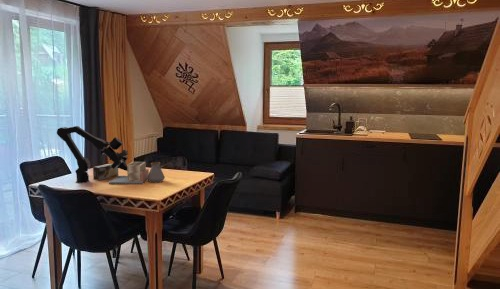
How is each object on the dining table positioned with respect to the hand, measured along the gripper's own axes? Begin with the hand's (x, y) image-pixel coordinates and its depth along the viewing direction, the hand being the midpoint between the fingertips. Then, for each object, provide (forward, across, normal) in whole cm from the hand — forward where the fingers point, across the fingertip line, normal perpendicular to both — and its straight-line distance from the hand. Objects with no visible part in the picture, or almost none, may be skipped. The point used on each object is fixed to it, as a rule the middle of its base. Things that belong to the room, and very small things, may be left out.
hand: (129, 170), depth 254 cm
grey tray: (+5, 0, +5) cm, 7 cm away
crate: (+8, 0, 0) cm, 8 cm away
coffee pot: (+21, -4, -11) cm, 24 cm away
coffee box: (-8, +17, +12) cm, 22 cm away
